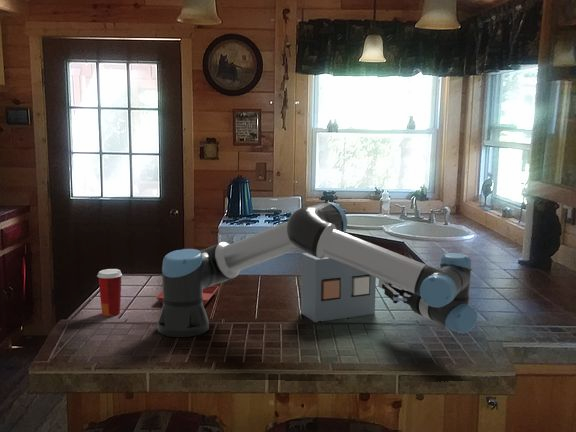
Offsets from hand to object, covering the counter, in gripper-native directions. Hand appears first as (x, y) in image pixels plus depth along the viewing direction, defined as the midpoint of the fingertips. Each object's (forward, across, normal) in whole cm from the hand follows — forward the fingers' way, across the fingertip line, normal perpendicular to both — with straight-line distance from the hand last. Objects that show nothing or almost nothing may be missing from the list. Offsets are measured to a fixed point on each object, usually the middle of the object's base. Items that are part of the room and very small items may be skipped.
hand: (380, 282), depth 191 cm
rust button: (+13, -11, -7) cm, 18 cm away
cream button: (+13, 0, -7) cm, 15 cm away
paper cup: (+45, -73, -16) cm, 87 cm away
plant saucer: (+51, -45, -16) cm, 70 cm away
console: (+16, -5, -14) cm, 22 cm away
